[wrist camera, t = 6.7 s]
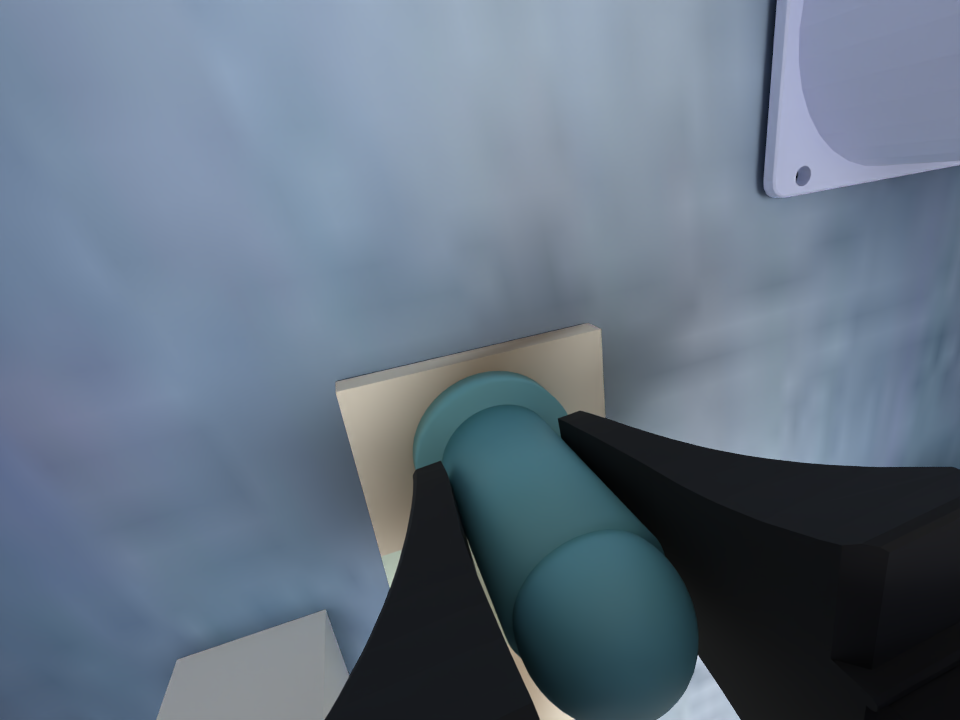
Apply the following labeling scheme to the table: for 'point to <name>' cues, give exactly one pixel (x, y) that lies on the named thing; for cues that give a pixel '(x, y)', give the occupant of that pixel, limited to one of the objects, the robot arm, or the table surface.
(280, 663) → the die
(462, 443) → the pawn
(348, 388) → the flat rectangular panel
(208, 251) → the table surface
